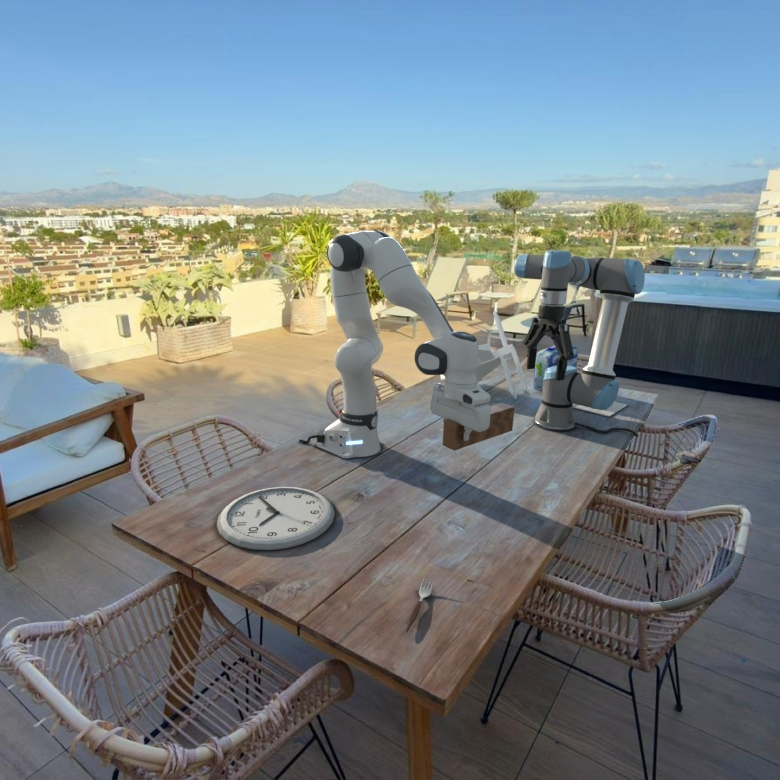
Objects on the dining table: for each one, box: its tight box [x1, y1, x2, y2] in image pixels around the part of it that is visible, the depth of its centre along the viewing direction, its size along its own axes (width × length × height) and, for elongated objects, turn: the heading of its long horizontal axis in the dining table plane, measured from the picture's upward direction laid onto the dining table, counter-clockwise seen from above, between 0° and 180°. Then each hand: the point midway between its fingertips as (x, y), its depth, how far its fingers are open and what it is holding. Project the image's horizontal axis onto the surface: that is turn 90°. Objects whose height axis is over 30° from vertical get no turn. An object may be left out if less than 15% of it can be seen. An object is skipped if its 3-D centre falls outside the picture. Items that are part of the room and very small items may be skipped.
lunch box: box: [533, 345, 579, 392], centre depth 247 cm, size 26×11×21 cm, turn 134°
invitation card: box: [573, 401, 629, 418], centre depth 226 cm, size 21×1×15 cm
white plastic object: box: [439, 310, 531, 400], centre depth 245 cm, size 37×45×31 cm
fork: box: [405, 574, 436, 633], centre depth 105 cm, size 3×16×2 cm, turn 160°
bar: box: [442, 402, 516, 451], centre depth 155 cm, size 25×5×8 cm, turn 129°
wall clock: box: [216, 486, 336, 551], centre depth 136 cm, size 30×2×30 cm
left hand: (457, 436), depth 150 cm, fingers closed on bar, 5 cm apart
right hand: (544, 374), depth 160 cm, fingers open, 13 cm apart
